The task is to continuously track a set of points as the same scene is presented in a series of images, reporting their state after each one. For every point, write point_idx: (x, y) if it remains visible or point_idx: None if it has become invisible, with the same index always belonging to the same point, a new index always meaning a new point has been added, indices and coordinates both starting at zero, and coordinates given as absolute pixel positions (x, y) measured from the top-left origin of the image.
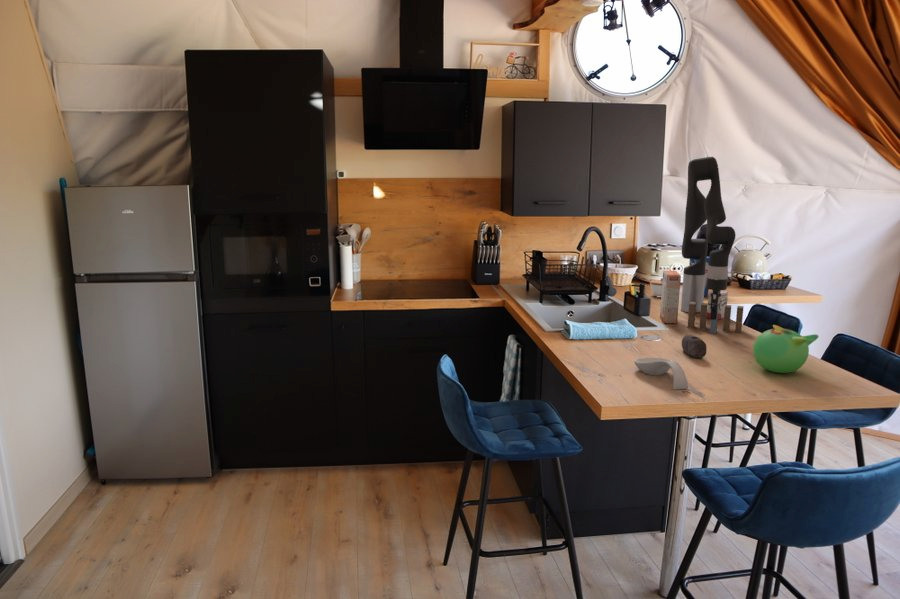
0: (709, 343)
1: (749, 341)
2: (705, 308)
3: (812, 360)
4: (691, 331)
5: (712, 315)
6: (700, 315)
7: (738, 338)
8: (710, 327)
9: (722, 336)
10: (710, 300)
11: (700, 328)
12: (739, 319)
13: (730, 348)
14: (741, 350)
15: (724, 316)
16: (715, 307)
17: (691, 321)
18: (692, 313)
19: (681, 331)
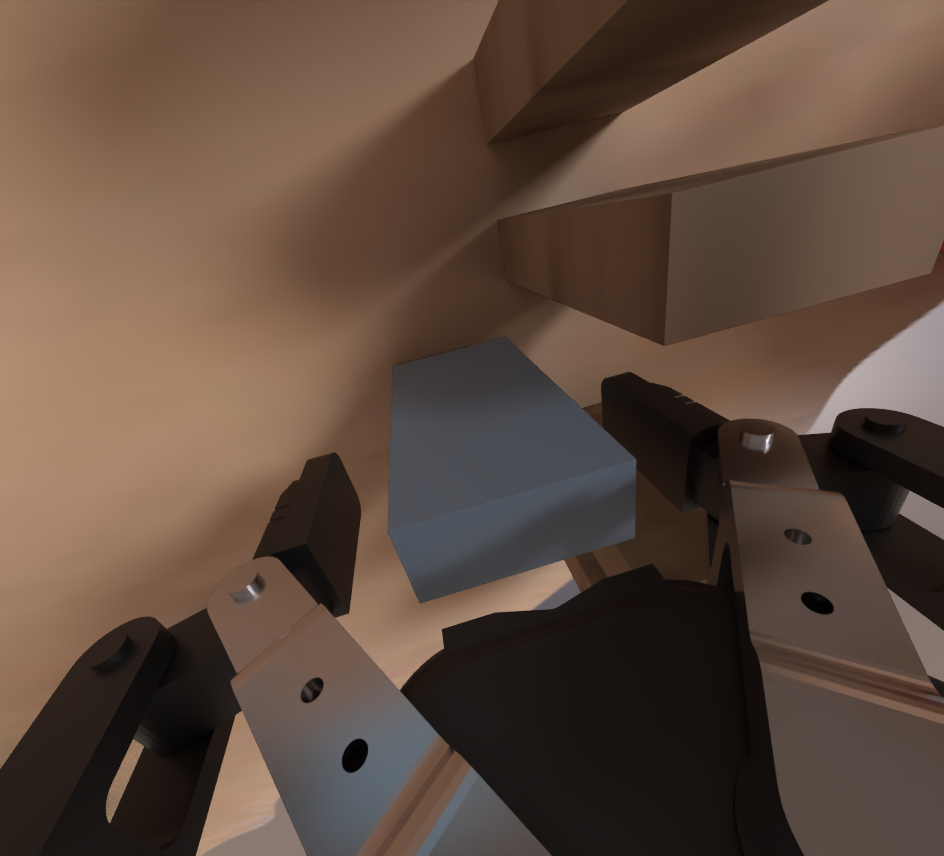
0: (8, 496)
1: (354, 618)
2: (625, 307)
3: (230, 820)
4: (325, 178)
5: (280, 524)
6: (556, 215)
7: (383, 560)
8: (393, 389)
9: (357, 477)
10: (272, 757)
11: (503, 233)
12: (585, 589)
13: (45, 629)
14: None
15: None
16: (145, 741)
17: (503, 81)
18: (551, 26)
19: (213, 41)
